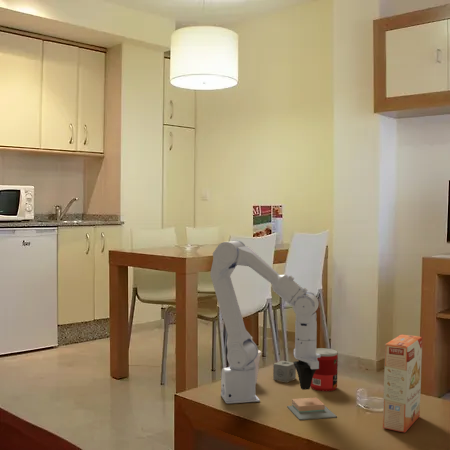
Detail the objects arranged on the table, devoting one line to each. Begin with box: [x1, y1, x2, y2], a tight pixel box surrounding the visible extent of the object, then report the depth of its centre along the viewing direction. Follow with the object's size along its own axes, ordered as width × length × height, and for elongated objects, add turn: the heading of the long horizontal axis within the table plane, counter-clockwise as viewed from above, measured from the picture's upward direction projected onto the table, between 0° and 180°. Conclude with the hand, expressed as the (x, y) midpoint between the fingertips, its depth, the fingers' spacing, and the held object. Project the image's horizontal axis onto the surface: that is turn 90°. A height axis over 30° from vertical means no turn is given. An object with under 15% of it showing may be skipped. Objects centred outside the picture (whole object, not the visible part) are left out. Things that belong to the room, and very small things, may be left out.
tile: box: [291, 397, 326, 412], centre depth 159 cm, size 7×2×6 cm
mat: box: [286, 405, 338, 421], centre depth 157 cm, size 10×10×1 cm
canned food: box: [310, 347, 339, 392], centre depth 178 cm, size 8×8×11 cm
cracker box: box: [382, 334, 423, 434], centre depth 149 cm, size 14×6×21 cm, turn 148°
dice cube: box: [272, 360, 297, 383], centre depth 187 cm, size 5×5×5 cm
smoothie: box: [251, 335, 262, 385], centre depth 182 cm, size 6×6×14 cm
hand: (305, 388), depth 161 cm, fingers closed
